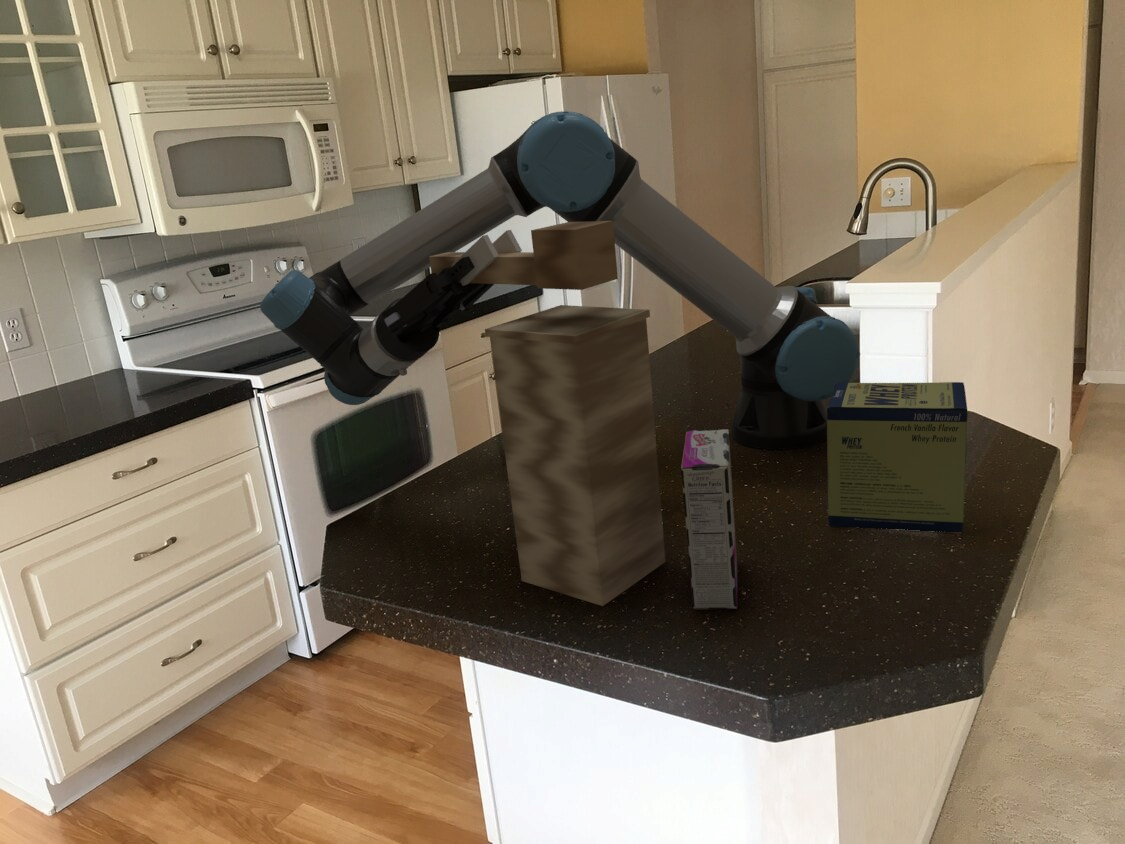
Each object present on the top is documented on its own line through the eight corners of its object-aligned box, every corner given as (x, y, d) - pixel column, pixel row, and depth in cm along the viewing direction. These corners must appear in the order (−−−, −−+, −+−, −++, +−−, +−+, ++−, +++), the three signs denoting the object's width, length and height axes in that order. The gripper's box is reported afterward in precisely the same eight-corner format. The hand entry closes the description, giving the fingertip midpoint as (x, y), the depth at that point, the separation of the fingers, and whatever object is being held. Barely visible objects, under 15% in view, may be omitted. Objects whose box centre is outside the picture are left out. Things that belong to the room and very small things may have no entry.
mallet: (423, 284, 109) (415, 232, 107) (460, 275, 113) (453, 225, 111) (581, 289, 93) (575, 229, 92) (617, 278, 98) (612, 220, 96)
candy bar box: (694, 563, 108) (684, 429, 103) (737, 562, 107) (730, 427, 102) (689, 611, 98) (679, 465, 93) (738, 611, 97) (730, 463, 92)
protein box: (965, 535, 108) (969, 407, 103) (826, 528, 113) (824, 406, 109) (962, 499, 117) (965, 380, 112) (834, 495, 123) (831, 381, 118)
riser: (518, 581, 108) (484, 329, 99) (585, 539, 117) (560, 305, 108) (603, 608, 100) (575, 336, 91) (669, 561, 109) (649, 309, 100)
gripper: (459, 346, 125) (565, 260, 108) (363, 378, 113) (466, 286, 97) (433, 298, 125) (535, 204, 109) (335, 324, 114) (432, 224, 97)
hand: (502, 243), depth 103 cm, fingers closed on mallet, 3 cm apart
